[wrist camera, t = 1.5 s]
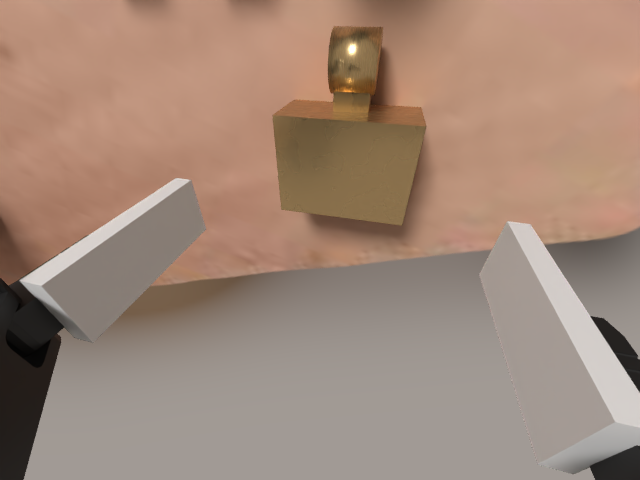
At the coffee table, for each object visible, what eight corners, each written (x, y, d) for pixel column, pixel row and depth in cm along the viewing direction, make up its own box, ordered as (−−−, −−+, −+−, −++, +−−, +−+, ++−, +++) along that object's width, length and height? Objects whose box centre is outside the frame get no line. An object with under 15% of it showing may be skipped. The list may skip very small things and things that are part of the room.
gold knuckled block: (291, 25, 15) (264, 25, 12) (438, 27, 14) (450, 28, 11) (298, 183, 21) (281, 209, 18) (401, 195, 20) (401, 225, 17)
